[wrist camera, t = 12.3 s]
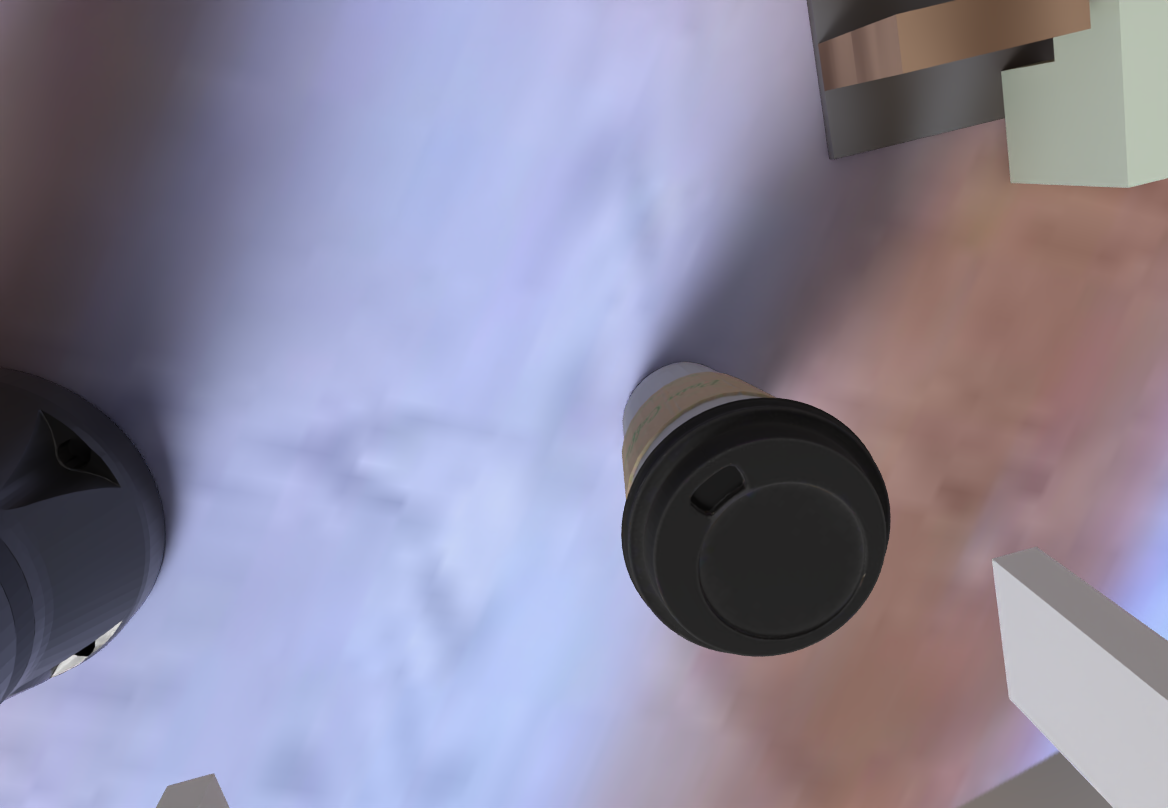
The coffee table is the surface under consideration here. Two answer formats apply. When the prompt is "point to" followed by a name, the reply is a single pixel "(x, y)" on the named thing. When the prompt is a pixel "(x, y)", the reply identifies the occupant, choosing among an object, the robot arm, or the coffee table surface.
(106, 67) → the coffee table surface
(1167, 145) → the pale green upright panel
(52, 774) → the coffee table surface
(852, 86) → the brown piece
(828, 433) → the coffee cup
